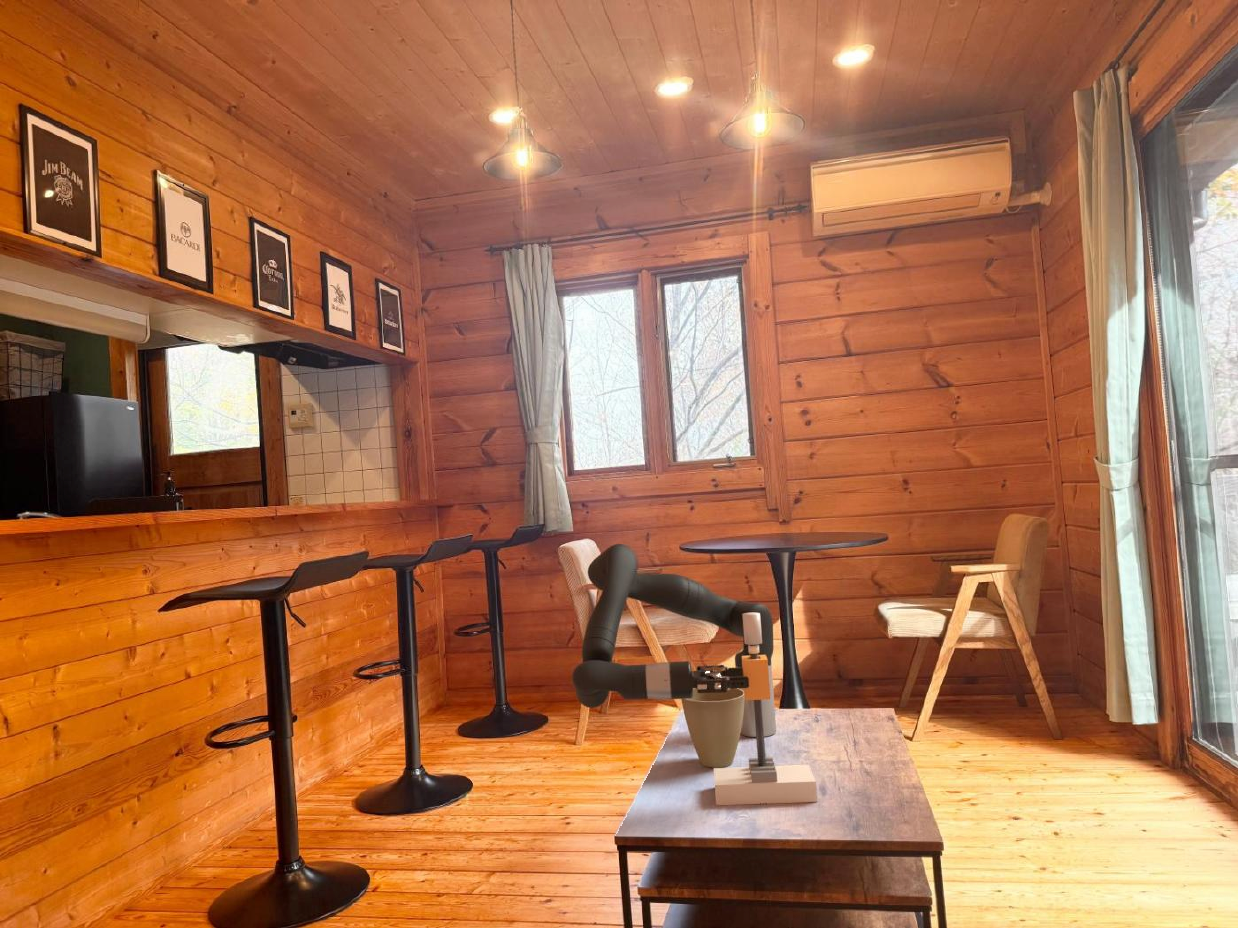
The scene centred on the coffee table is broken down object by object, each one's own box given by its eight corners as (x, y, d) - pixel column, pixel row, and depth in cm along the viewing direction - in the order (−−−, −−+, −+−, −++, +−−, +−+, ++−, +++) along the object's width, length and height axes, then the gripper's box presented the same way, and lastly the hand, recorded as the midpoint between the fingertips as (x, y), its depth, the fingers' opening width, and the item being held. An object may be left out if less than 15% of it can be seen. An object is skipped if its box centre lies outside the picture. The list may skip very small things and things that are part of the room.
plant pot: (748, 773, 185) (743, 700, 186) (681, 773, 188) (676, 702, 188) (751, 751, 200) (746, 684, 200) (689, 752, 203) (684, 685, 203)
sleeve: (744, 694, 175) (741, 655, 176) (768, 693, 175) (765, 654, 175) (745, 700, 170) (742, 660, 171) (770, 699, 170) (767, 659, 170)
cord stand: (714, 787, 178) (702, 612, 179) (810, 783, 176) (797, 607, 177) (716, 805, 168) (703, 620, 169) (817, 801, 166) (803, 614, 167)
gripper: (666, 669, 167) (748, 666, 166) (668, 655, 182) (744, 652, 180) (669, 707, 167) (751, 704, 166) (671, 690, 181) (746, 687, 180)
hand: (747, 677), depth 173 cm, fingers open, 8 cm apart
